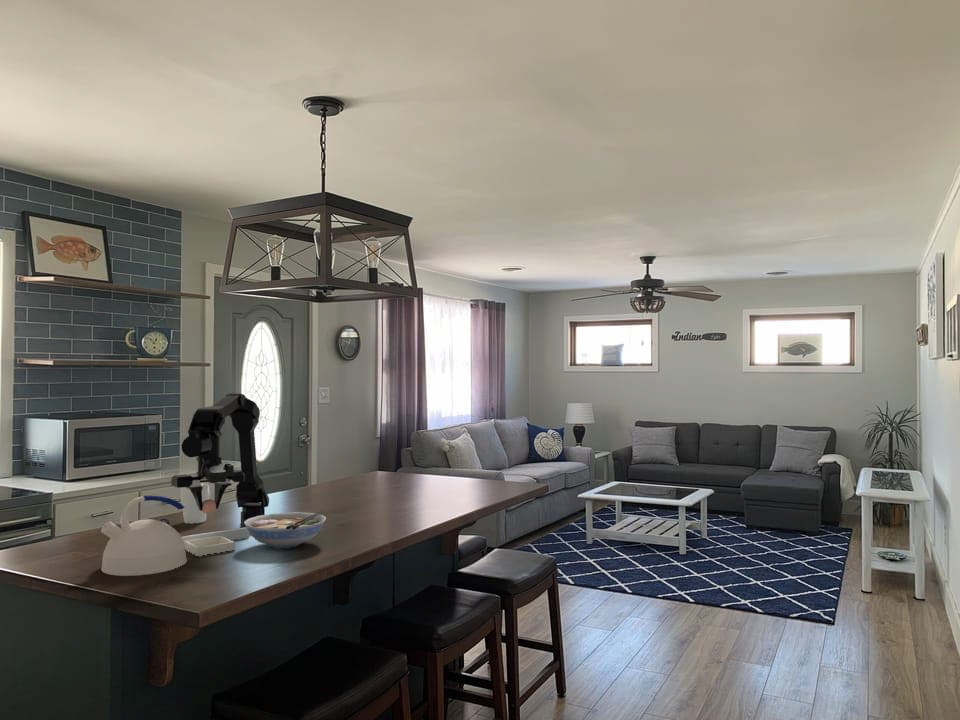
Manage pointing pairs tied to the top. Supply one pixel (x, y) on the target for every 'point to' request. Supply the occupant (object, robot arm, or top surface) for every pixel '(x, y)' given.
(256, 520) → the ramen bowl
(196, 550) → the dish
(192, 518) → the cup
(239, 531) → the wall
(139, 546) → the kettle
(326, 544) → the top surface
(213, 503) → the ball
